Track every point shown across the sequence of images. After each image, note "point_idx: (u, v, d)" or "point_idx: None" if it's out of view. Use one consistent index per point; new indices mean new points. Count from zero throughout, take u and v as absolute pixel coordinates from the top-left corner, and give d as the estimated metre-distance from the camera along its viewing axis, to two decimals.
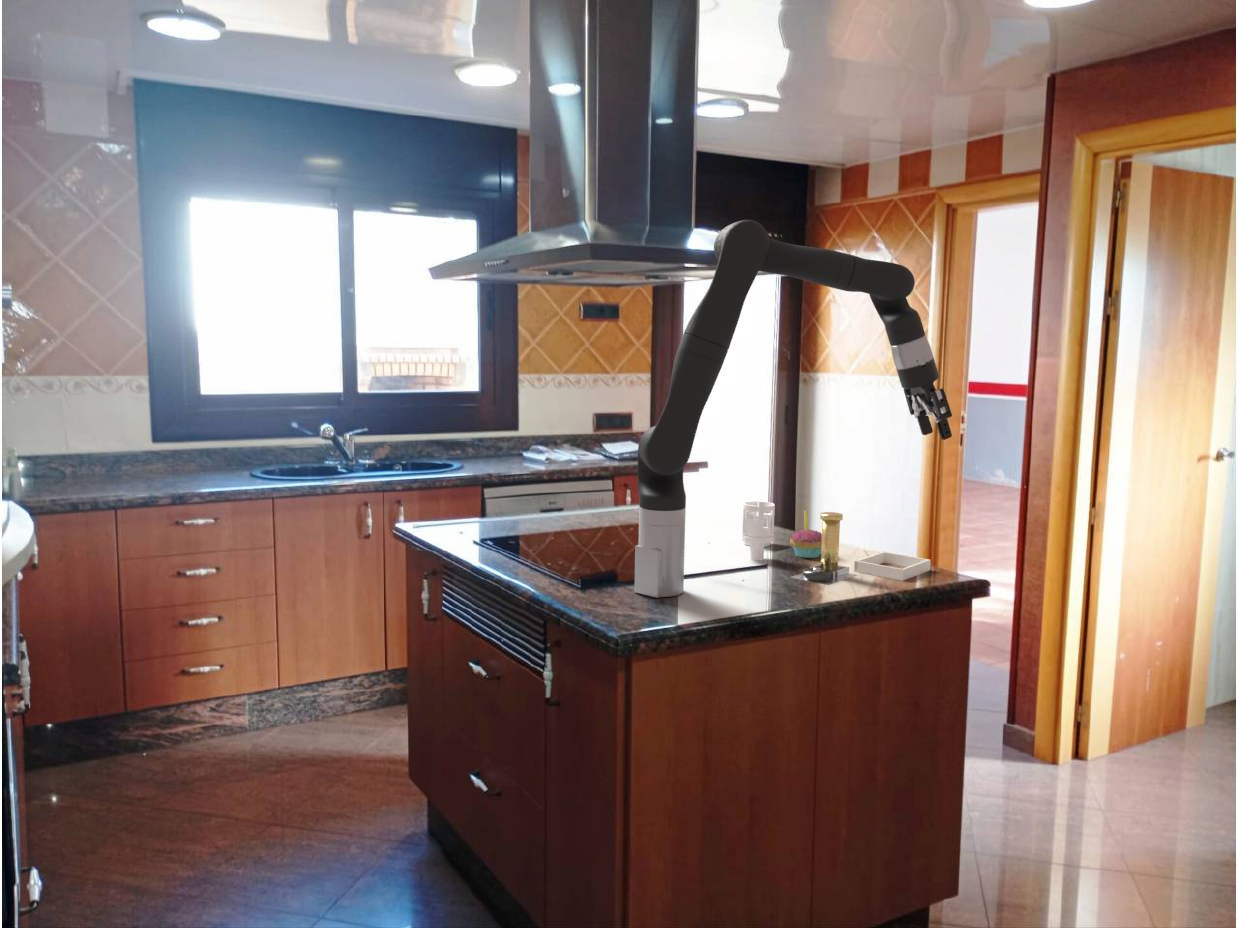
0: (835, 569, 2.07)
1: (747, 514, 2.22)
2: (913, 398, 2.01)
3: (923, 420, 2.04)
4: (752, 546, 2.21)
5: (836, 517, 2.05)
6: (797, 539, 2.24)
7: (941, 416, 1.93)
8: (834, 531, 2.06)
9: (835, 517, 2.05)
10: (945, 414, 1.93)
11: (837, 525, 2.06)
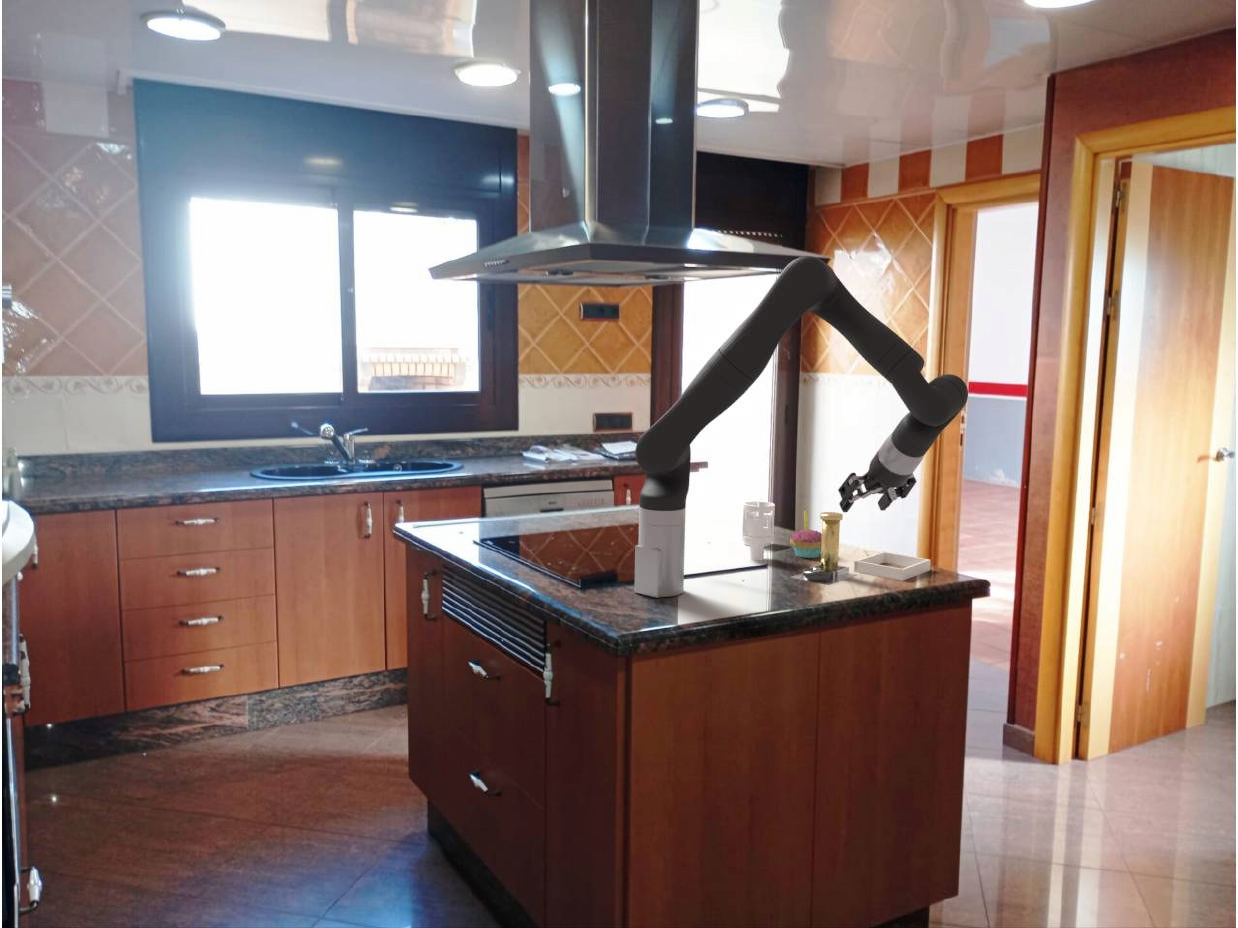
0: (835, 569, 2.07)
1: (747, 514, 2.22)
2: None
3: (885, 497, 1.95)
4: (752, 546, 2.21)
5: (836, 517, 2.05)
6: (797, 539, 2.24)
7: (839, 489, 1.90)
8: (834, 531, 2.06)
9: (835, 517, 2.05)
10: (842, 493, 1.90)
11: (837, 525, 2.06)
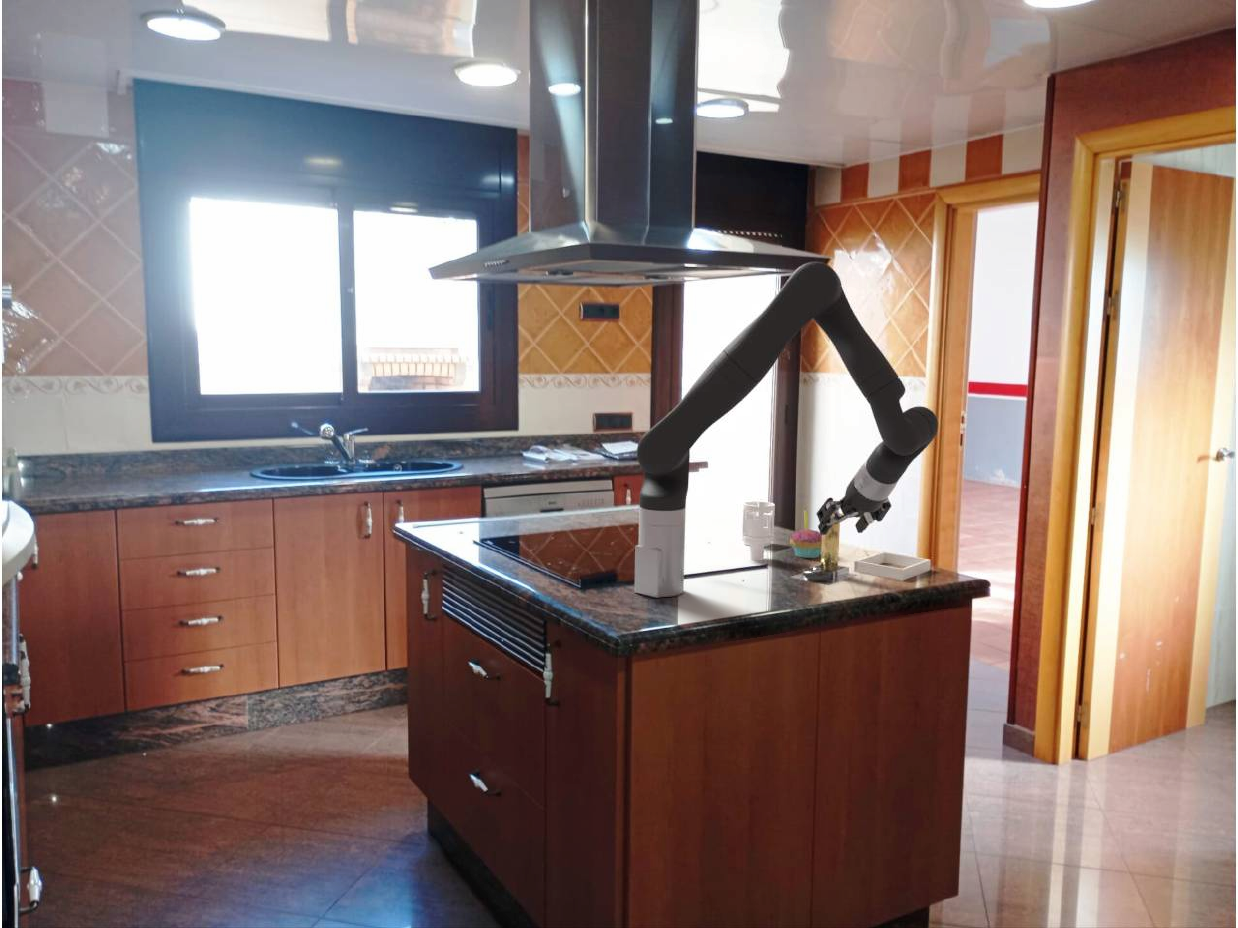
0: (835, 569, 2.07)
1: (747, 514, 2.22)
2: None
3: (862, 520, 2.03)
4: (752, 546, 2.21)
5: None
6: (797, 539, 2.24)
7: (817, 513, 1.98)
8: (834, 531, 2.06)
9: None
10: (820, 517, 1.98)
11: (837, 525, 2.06)
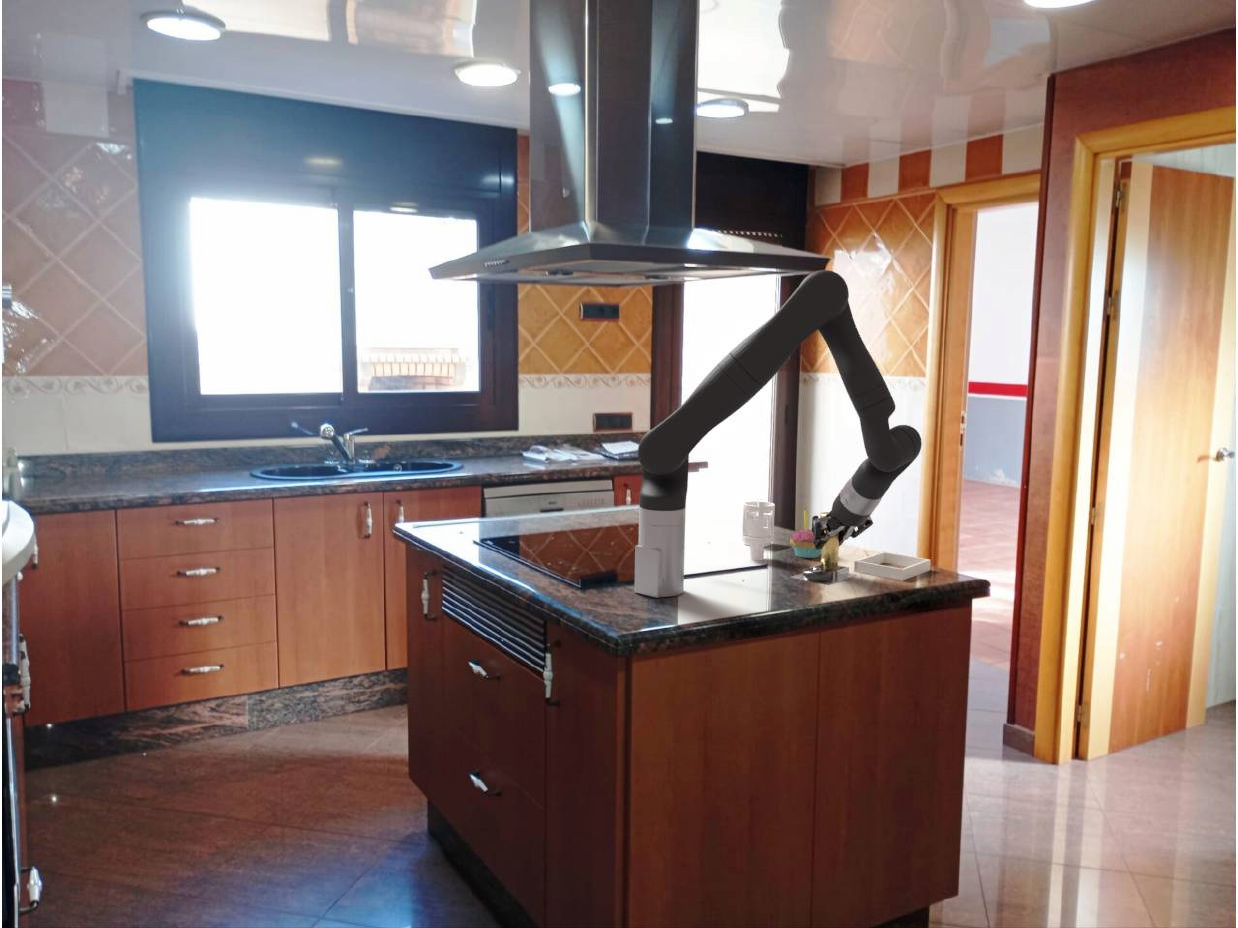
0: (835, 569, 2.07)
1: (747, 514, 2.22)
2: None
3: None
4: (752, 546, 2.21)
5: None
6: (797, 539, 2.24)
7: None
8: None
9: None
10: (814, 532, 2.04)
11: None
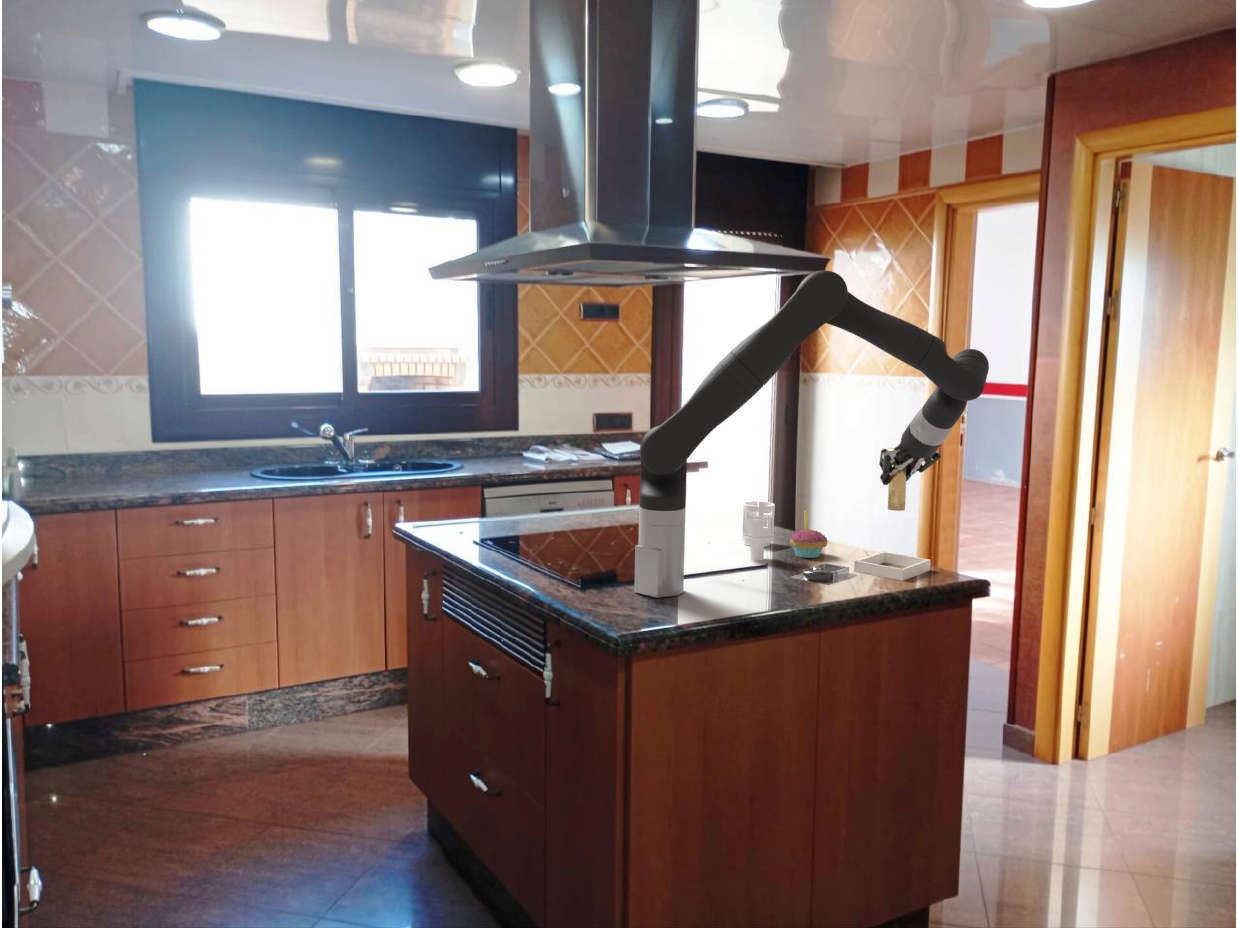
0: (903, 503, 2.09)
1: (747, 514, 2.22)
2: None
3: None
4: (752, 546, 2.21)
5: None
6: (797, 539, 2.24)
7: (879, 464, 2.07)
8: None
9: None
10: (883, 467, 2.07)
11: None
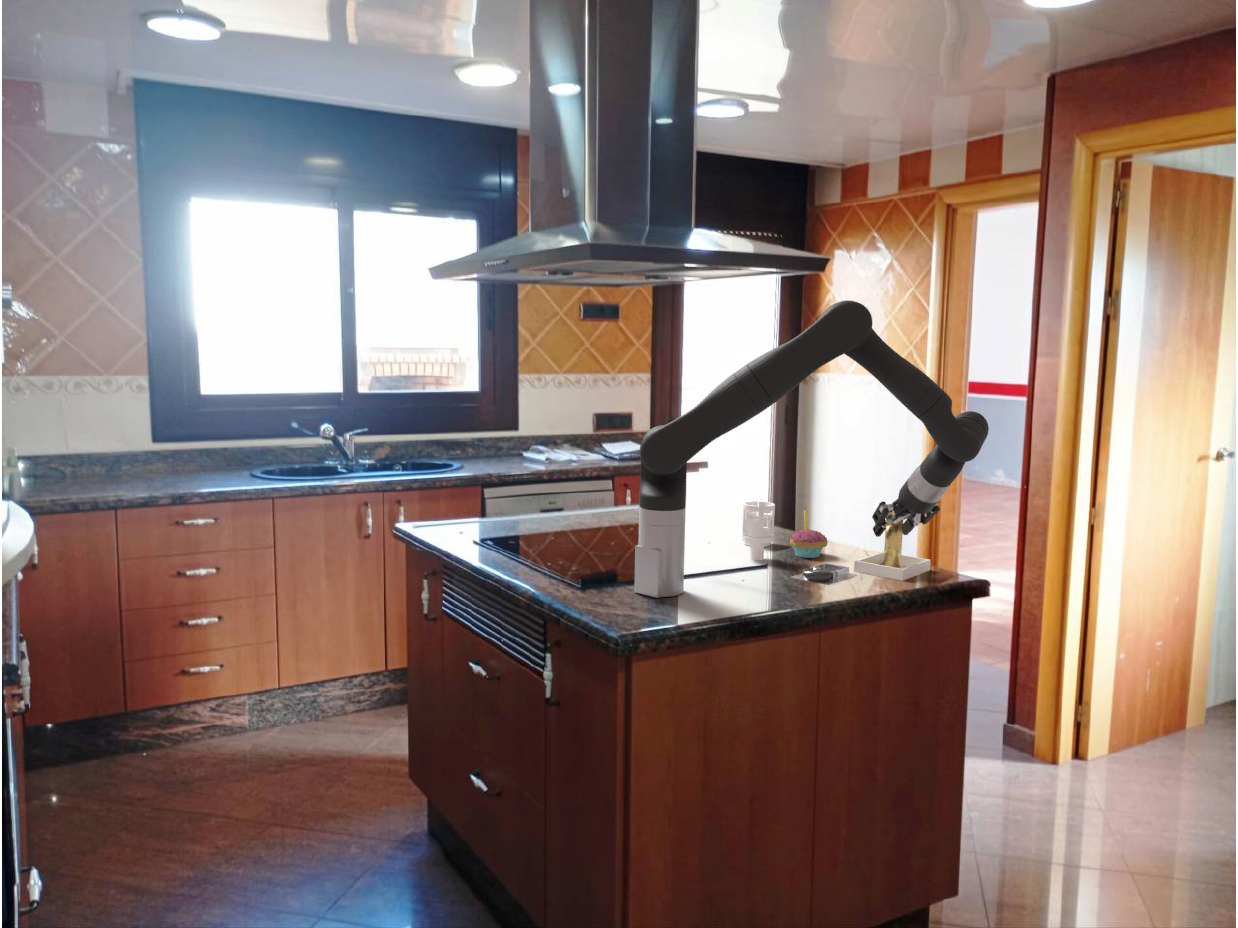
0: (898, 567, 2.11)
1: (747, 514, 2.22)
2: None
3: (908, 523, 2.12)
4: (752, 546, 2.21)
5: None
6: (797, 539, 2.24)
7: (873, 516, 2.08)
8: (897, 530, 2.10)
9: None
10: (875, 519, 2.08)
11: (901, 524, 2.10)
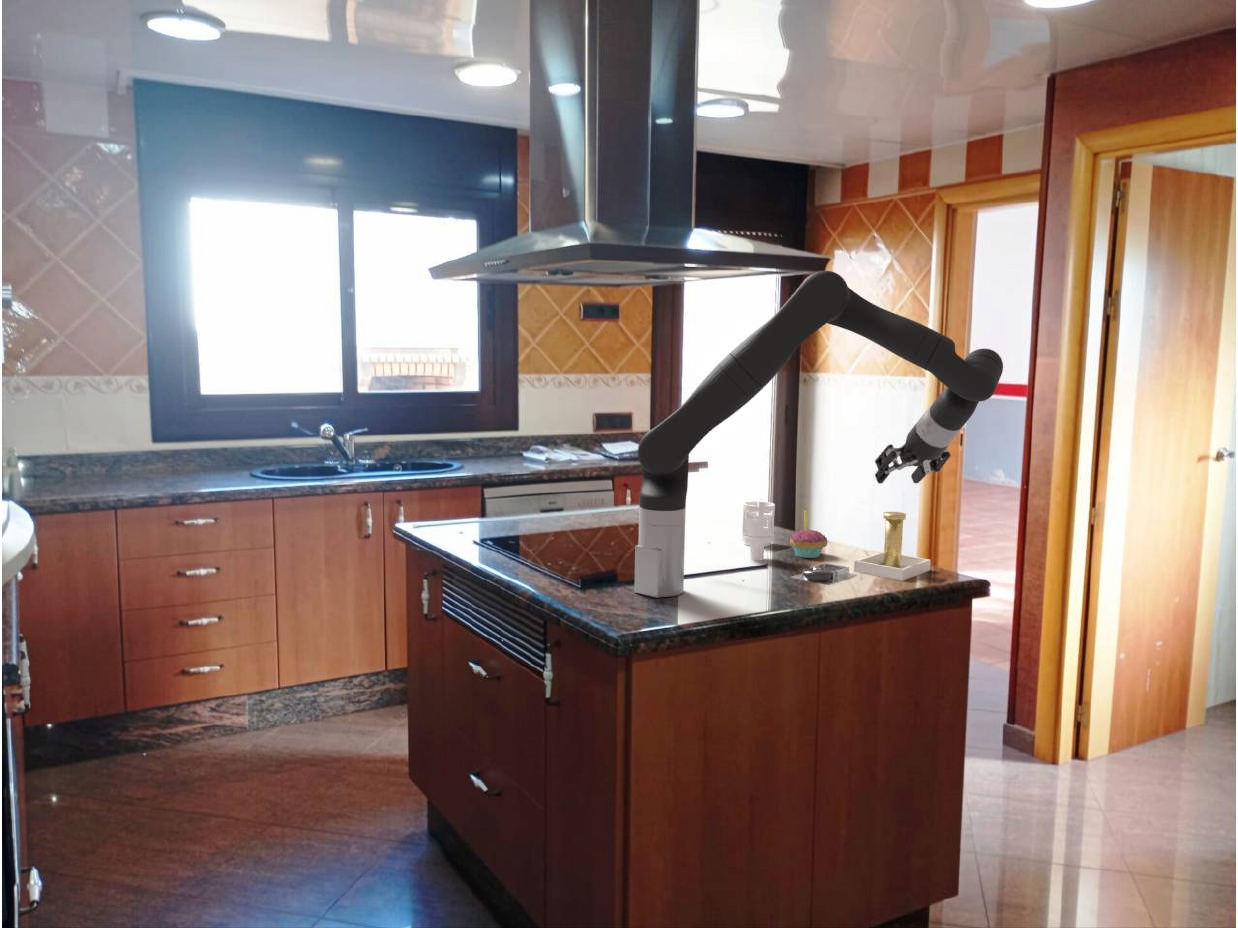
0: (898, 567, 2.11)
1: (747, 514, 2.22)
2: None
3: (919, 470, 2.02)
4: (752, 546, 2.21)
5: (900, 516, 2.09)
6: (797, 539, 2.24)
7: (876, 460, 1.98)
8: (897, 531, 2.10)
9: (899, 516, 2.09)
10: (878, 464, 1.97)
11: (901, 524, 2.10)
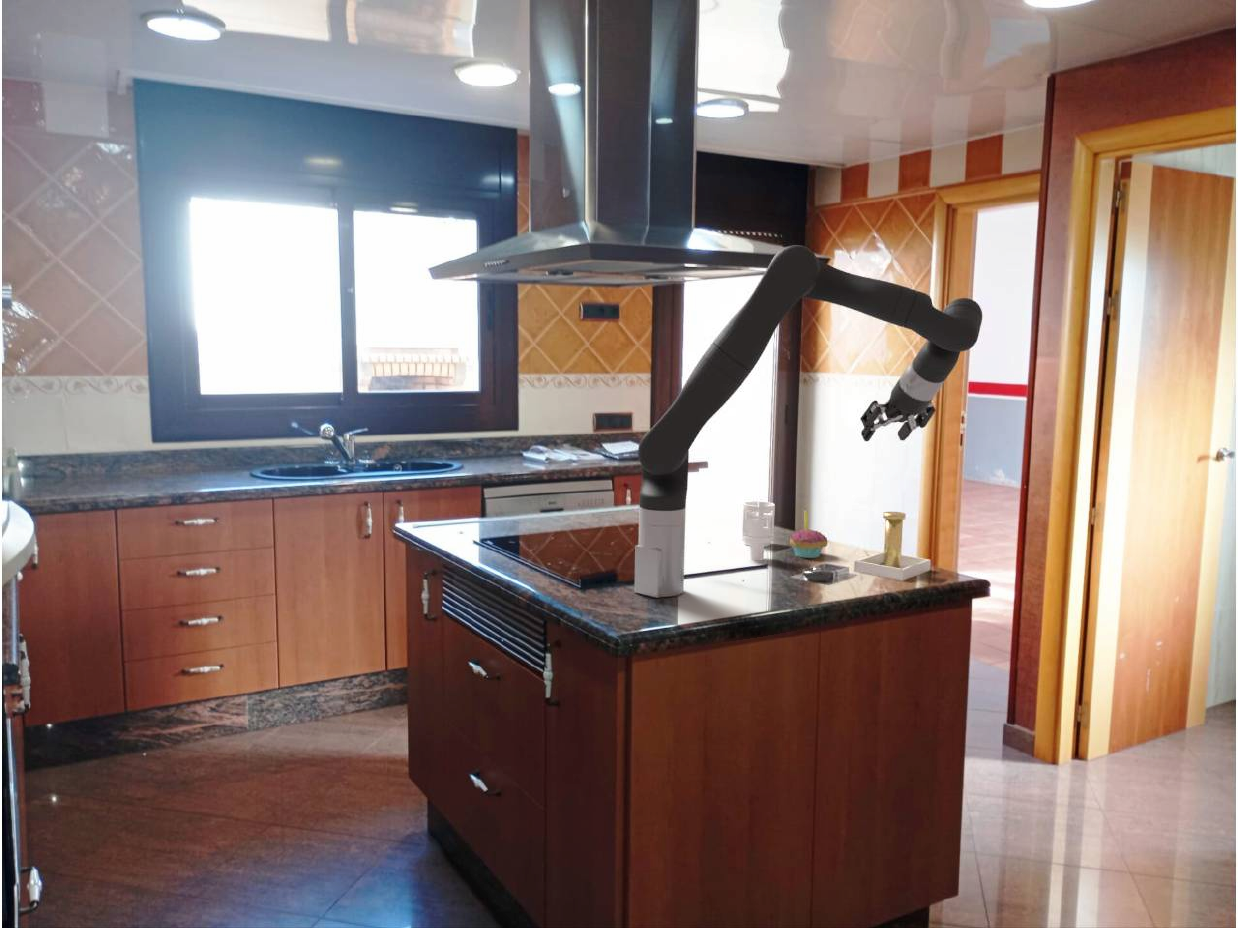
0: (898, 567, 2.11)
1: (747, 514, 2.22)
2: None
3: (905, 427, 2.03)
4: (752, 546, 2.21)
5: (899, 516, 2.09)
6: (797, 539, 2.24)
7: (861, 418, 1.98)
8: (897, 530, 2.10)
9: (898, 516, 2.09)
10: (864, 421, 1.98)
11: (900, 524, 2.10)
